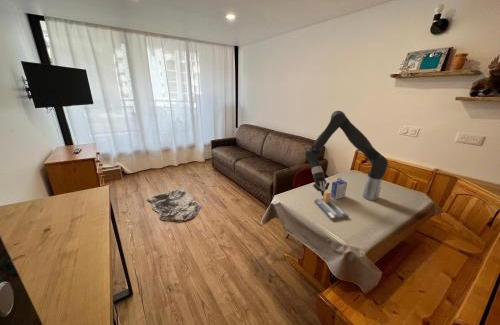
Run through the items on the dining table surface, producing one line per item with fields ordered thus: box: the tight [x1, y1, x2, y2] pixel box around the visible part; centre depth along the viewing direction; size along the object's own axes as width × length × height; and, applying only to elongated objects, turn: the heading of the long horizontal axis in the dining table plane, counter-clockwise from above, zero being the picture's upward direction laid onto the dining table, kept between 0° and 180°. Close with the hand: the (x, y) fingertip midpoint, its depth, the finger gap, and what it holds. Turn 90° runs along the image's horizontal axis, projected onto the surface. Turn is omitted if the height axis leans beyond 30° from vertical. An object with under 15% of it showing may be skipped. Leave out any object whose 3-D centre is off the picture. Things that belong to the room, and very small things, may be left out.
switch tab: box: [322, 190, 331, 203], centre depth 140 cm, size 3×3×8 cm
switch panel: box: [314, 197, 349, 221], centre depth 136 cm, size 12×21×4 cm, turn 12°
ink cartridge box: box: [330, 177, 348, 200], centre depth 149 cm, size 10×6×14 cm, turn 113°
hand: (324, 196), depth 142 cm, fingers closed
